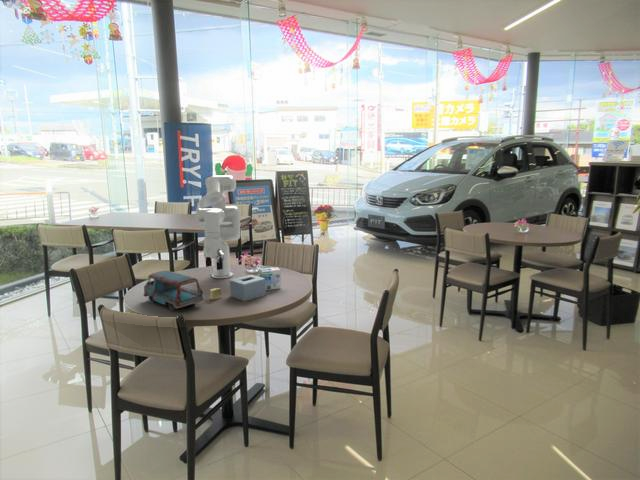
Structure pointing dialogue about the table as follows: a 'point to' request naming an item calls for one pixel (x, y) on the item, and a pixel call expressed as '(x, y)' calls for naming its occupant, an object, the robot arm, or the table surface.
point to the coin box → (247, 287)
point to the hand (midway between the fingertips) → (214, 267)
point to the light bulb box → (271, 277)
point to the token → (215, 293)
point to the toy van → (172, 289)
